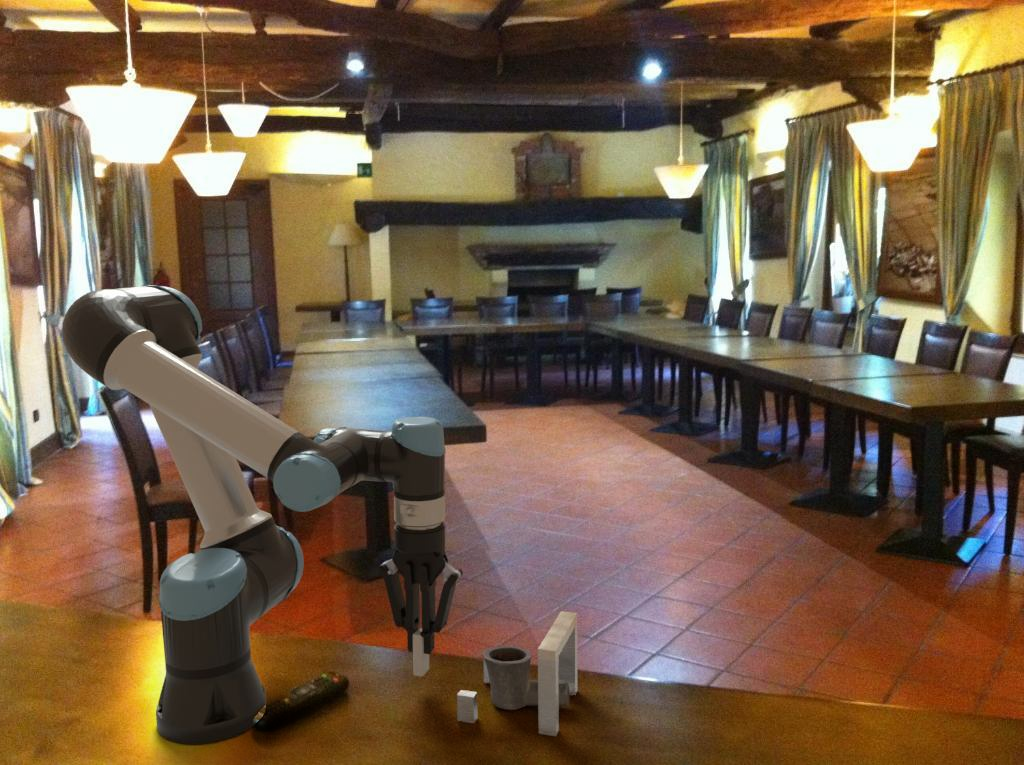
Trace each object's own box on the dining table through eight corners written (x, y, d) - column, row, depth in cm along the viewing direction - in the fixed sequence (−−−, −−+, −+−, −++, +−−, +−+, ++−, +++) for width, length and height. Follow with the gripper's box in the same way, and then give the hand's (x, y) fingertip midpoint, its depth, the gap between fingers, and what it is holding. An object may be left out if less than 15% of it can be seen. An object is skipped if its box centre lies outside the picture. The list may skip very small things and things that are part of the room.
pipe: (566, 719, 126) (566, 667, 125) (479, 713, 128) (477, 661, 127) (570, 697, 132) (570, 647, 130) (487, 692, 134) (485, 642, 133)
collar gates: (457, 721, 126) (455, 638, 124) (487, 678, 138) (485, 602, 136) (556, 736, 121) (555, 651, 119) (577, 690, 134) (577, 612, 132)
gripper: (368, 525, 128) (371, 676, 132) (451, 534, 124) (452, 690, 128) (390, 510, 135) (392, 654, 139) (469, 519, 132) (470, 666, 135)
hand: (421, 671), depth 134 cm, fingers closed
